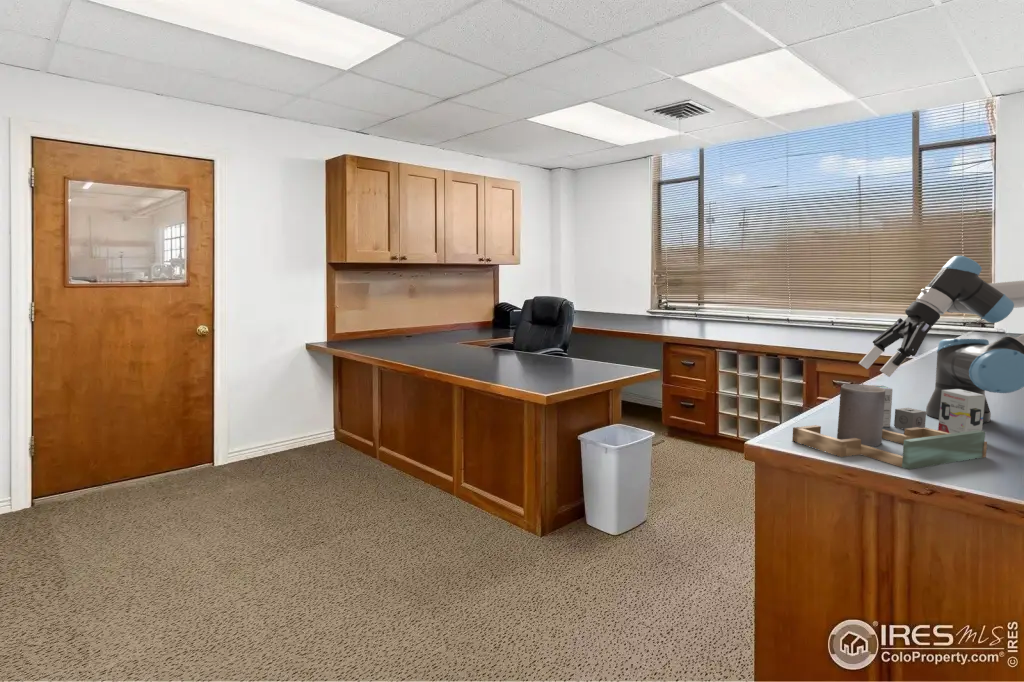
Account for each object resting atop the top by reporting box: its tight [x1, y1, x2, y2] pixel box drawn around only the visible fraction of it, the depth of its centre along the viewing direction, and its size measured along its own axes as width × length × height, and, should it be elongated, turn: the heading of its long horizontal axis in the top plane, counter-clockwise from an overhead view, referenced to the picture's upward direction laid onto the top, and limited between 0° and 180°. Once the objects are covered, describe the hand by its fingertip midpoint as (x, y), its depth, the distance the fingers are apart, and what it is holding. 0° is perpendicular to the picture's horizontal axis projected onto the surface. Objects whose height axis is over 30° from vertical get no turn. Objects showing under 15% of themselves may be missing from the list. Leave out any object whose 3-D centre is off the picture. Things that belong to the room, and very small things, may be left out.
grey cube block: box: [893, 407, 927, 430], centre depth 162 cm, size 5×5×5 cm
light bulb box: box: [842, 384, 893, 428], centre depth 166 cm, size 11×7×11 cm, turn 84°
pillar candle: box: [836, 382, 886, 448], centre depth 147 cm, size 10×10×15 cm
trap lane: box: [791, 424, 988, 470], centre depth 142 cm, size 26×31×6 cm
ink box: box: [937, 389, 986, 434], centre depth 152 cm, size 9×5×12 cm, turn 5°
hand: (873, 370), depth 164 cm, fingers open, 13 cm apart
